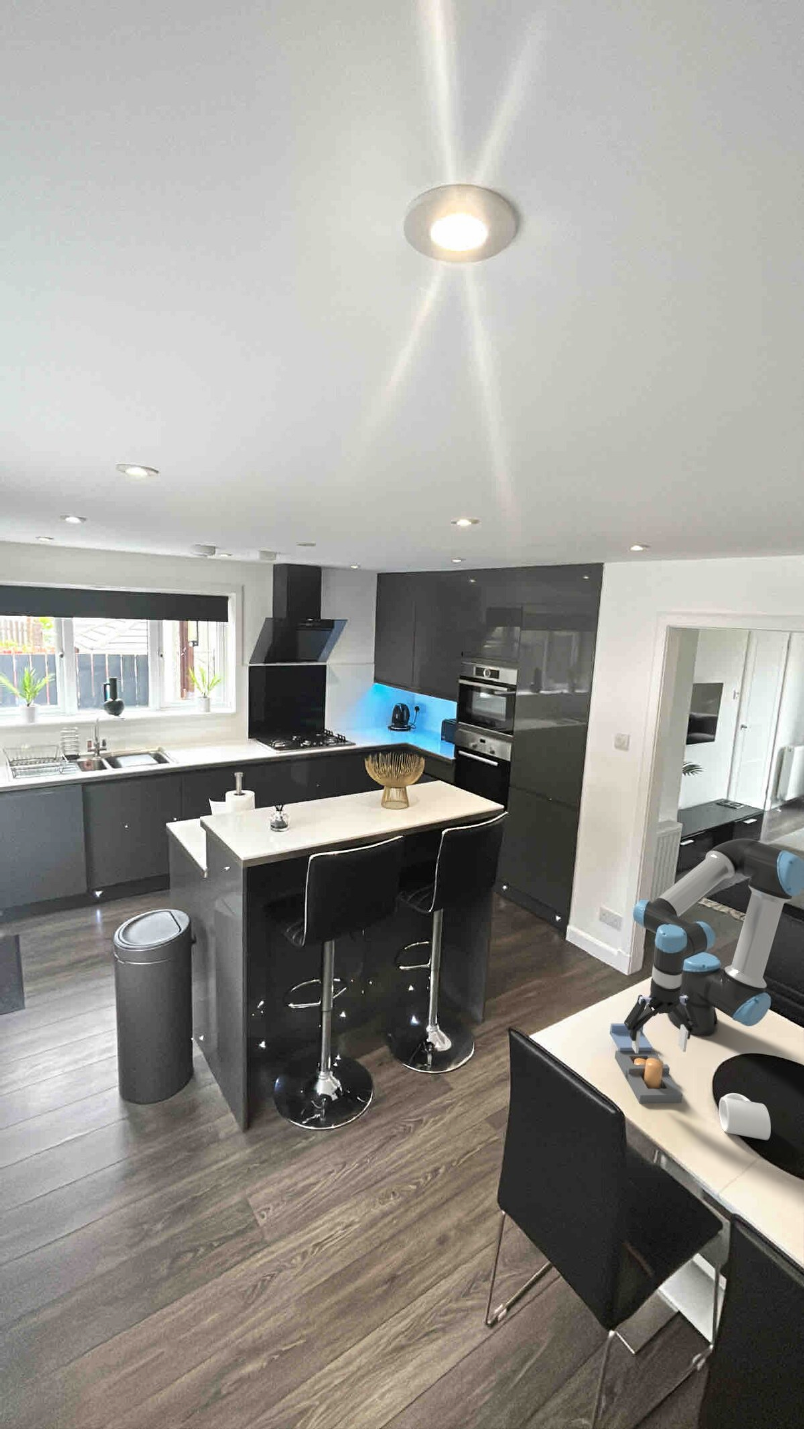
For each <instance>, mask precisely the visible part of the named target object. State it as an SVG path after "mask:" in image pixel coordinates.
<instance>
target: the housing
mask: <svg viewBox="0 0 804 1429" xmlns="http://www.w3.org/2000/svg"><path fill="white" fill-rule="evenodd" d="M614 1053H615V1054H614V1059H615V1061H616V1063H617V1065H618V1067H619V1068H620V1070H621V1072H622V1074H623V1075H624V1077H625V1080H626V1081H627V1083H628V1085H629V1087H630V1088H631V1091H632V1092H633V1094H634V1096H635V1098H636V1099H637V1102H638V1103H639V1104H653V1103H654V1104H656V1103H657V1104H665V1103H666V1104H669V1103H670V1104H672V1103H674V1104H675V1103H680V1104H682V1101H683V1096H684V1095H683V1092H682V1091H681V1089H679V1087H678V1085H677V1083H676V1082H675V1080H674V1079H673V1077H672V1075H671V1074H670V1066H669V1065H668V1064H667V1063H666V1064H664V1063H663V1062H662V1060H661V1058H660V1057H659V1056H658V1054H657V1052H656V1050H654V1049H652V1051H638V1053H635V1051H619V1050H615V1052H614ZM648 1058H655V1059H657V1060H659V1061H660V1062H661V1063H662V1064H663V1070H662V1078H661V1086H660V1089H648V1088H647V1086H646V1084H645V1083H644V1075H645V1067H646V1060H647V1059H648Z"/></svg>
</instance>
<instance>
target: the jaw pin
mask: <svg viewBox="0 0 804 1429" xmlns="http://www.w3.org/2000/svg"><path fill="white" fill-rule="evenodd" d="M661 1062H662V1061H661ZM661 1062H660V1061H659V1060H657V1059H655V1058H648V1059H647V1060H646V1067H645V1075H644V1083H645V1084H646V1086H647V1088H648V1089H661V1078H662V1070H663V1065H664V1063H663V1062H662V1063H663V1064H662V1063H661Z"/></svg>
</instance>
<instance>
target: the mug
mask: <svg viewBox="0 0 804 1429" xmlns="http://www.w3.org/2000/svg"><path fill="white" fill-rule="evenodd" d="M718 1114H719V1122H720V1126H721V1128H722V1130H723V1132H725V1133H726V1134H732V1135H738V1136H743V1137H748V1138H753V1139H758V1140H759V1139H760V1140H764V1141H768V1140H769V1139H770V1137H771V1129H772V1127H771V1118H770V1117H771V1116H770V1113H769V1111H768V1108H767V1106H766V1105H765V1104H763V1103H761V1102H753V1101H751V1100H750V1099H749V1098H747V1097H746V1096H745V1095H742V1094H740V1093H734V1092H731V1093H727V1094H725V1095H724V1096H722V1097H720V1099H719V1102H718Z"/></svg>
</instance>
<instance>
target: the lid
mask: <svg viewBox="0 0 804 1429" xmlns="http://www.w3.org/2000/svg"><path fill="white" fill-rule="evenodd" d="M644 1025H645V1024H644ZM644 1025H643V1026H642V1027H641V1028H640V1029H639V1031H640V1042H639V1051H652V1050H653V1045H652V1044H651V1043H650V1041H649V1040H648V1038H647V1036H646V1035H645V1033H644ZM635 1026H636V1025H635ZM609 1027H610V1029H609V1035H610V1036H611V1038H612V1040H613V1041H614V1042H613V1043H615V1046H616V1047H617V1049H618V1051H634V1050H633V1048H632V1040H631V1038H630V1030H628V1029H627V1027H626V1026H625V1024H624V1022H622V1023H621V1022H620V1023H613V1022H612V1023H610V1026H609Z"/></svg>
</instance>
